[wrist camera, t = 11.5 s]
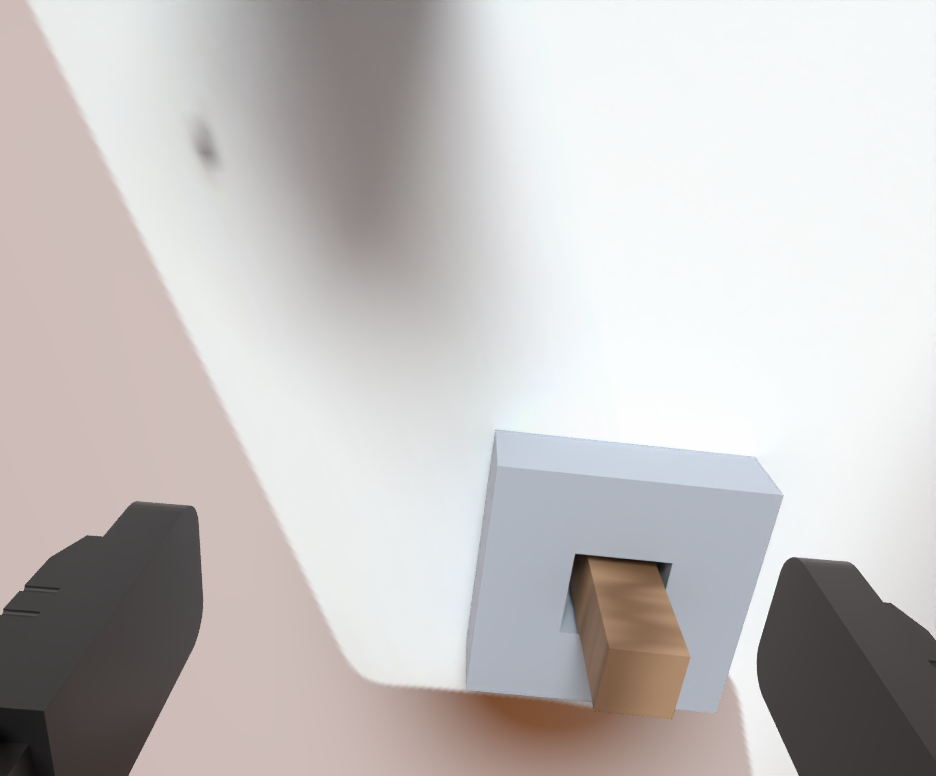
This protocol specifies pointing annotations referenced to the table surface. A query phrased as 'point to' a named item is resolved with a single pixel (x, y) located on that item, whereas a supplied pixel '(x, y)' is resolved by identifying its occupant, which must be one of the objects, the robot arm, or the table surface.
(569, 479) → the socket block
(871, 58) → the table surface
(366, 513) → the table surface
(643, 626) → the walnut peg
